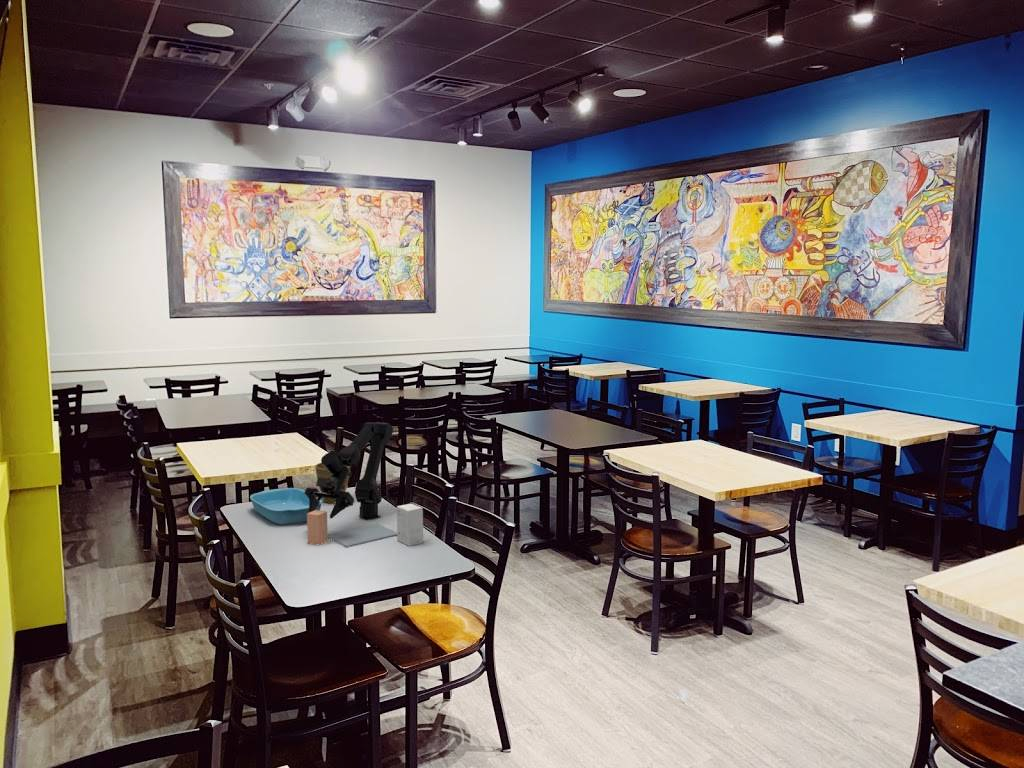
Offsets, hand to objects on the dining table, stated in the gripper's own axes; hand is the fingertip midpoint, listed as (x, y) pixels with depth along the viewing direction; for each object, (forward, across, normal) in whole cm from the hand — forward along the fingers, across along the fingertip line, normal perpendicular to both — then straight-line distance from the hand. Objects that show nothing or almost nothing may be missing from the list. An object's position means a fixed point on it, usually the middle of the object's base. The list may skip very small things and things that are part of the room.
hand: (319, 516), depth 282 cm
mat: (-1, +11, +14) cm, 18 cm away
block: (+8, 0, +5) cm, 9 cm away
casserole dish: (-9, -33, +22) cm, 41 cm away
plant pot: (-26, -26, +39) cm, 54 cm away
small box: (-2, +30, +15) cm, 34 cm away
